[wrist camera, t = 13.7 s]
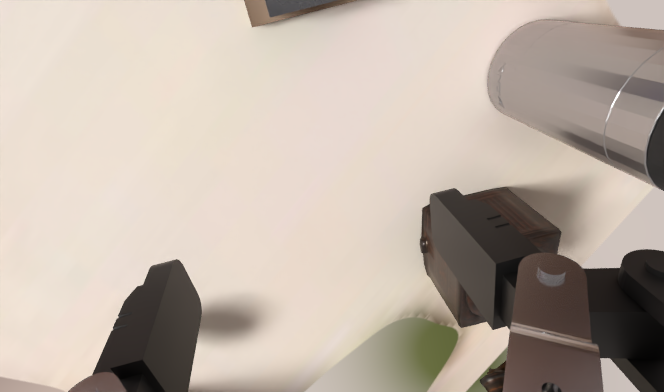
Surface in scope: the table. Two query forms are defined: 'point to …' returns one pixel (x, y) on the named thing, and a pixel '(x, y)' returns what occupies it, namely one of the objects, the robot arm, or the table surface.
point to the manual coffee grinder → (450, 287)
